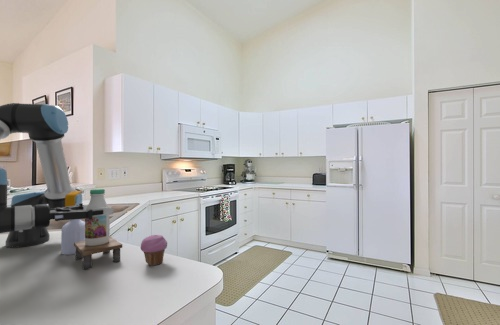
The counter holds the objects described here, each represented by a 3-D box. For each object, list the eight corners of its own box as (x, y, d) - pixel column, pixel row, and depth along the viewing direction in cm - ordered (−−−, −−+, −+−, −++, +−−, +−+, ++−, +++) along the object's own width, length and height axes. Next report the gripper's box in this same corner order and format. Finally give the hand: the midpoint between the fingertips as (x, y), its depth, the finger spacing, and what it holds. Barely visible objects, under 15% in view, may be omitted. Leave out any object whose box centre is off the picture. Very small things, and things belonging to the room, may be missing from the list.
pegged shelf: (73, 258, 92) (74, 242, 92) (109, 250, 101) (109, 236, 101) (83, 270, 81) (83, 252, 81) (122, 260, 89) (122, 244, 89)
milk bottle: (92, 240, 94) (92, 188, 95) (113, 240, 95) (113, 188, 95) (80, 247, 87) (80, 190, 87) (103, 246, 87) (103, 189, 88)
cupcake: (170, 264, 85) (170, 235, 86) (144, 271, 80) (144, 240, 80) (162, 257, 92) (162, 230, 93) (137, 262, 87) (137, 234, 87)
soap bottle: (93, 247, 105) (93, 190, 105) (76, 255, 96) (76, 192, 96) (74, 247, 106) (74, 190, 106) (55, 254, 97) (55, 192, 97)
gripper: (30, 222, 87) (99, 214, 102) (36, 235, 70) (117, 223, 84) (30, 201, 88) (99, 196, 102) (36, 209, 70) (117, 201, 85)
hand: (107, 208), depth 93 cm, fingers open, 13 cm apart
